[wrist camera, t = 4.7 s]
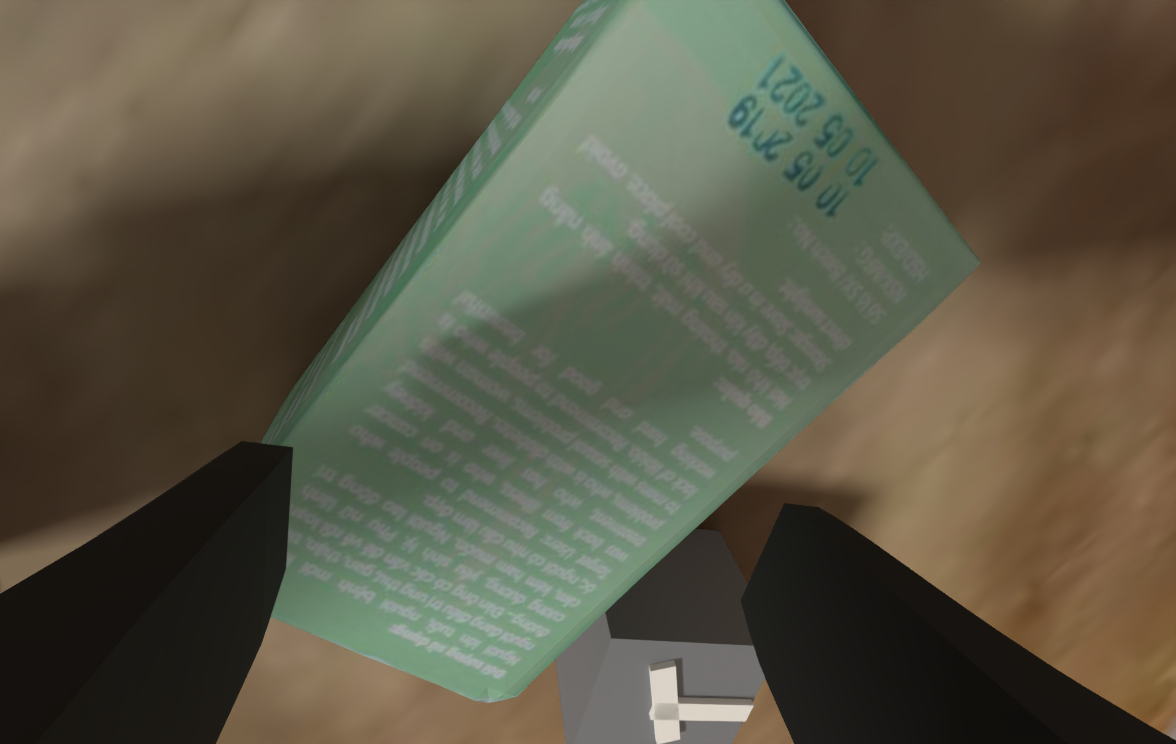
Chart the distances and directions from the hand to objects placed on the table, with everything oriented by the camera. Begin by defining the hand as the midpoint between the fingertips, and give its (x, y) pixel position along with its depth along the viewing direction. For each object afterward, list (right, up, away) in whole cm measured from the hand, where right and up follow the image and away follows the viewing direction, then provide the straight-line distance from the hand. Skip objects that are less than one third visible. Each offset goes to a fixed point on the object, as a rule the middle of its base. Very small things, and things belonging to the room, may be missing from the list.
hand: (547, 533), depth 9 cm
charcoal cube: (+2, -5, +13) cm, 14 cm away
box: (-1, +5, +8) cm, 9 cm away
